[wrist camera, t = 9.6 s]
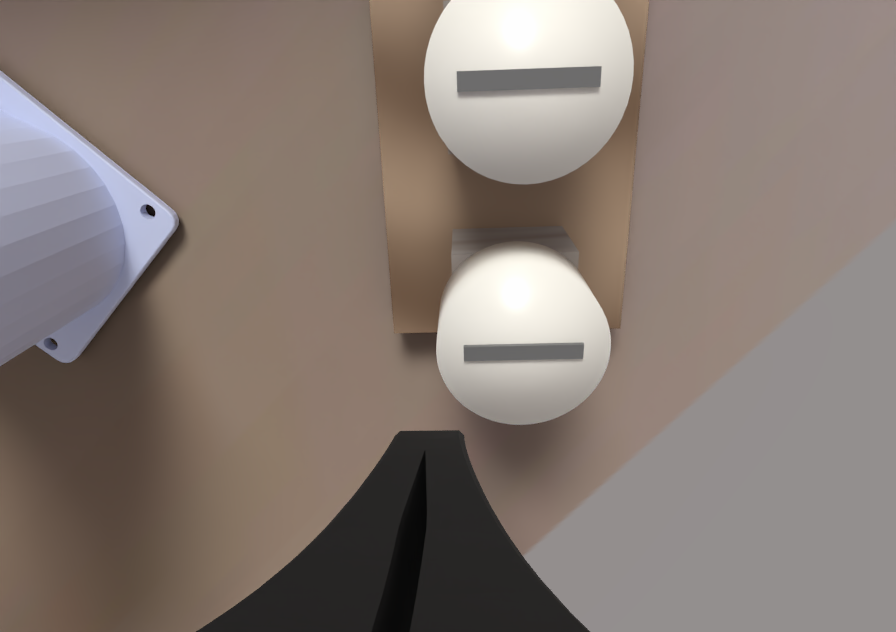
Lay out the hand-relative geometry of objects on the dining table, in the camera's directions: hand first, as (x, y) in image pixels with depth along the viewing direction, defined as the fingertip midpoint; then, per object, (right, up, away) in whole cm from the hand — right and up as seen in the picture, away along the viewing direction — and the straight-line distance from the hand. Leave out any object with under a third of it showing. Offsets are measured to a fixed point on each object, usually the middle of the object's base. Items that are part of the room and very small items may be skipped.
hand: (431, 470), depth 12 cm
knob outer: (+2, +4, +8) cm, 9 cm away
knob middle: (+2, +10, +5) cm, 12 cm away
